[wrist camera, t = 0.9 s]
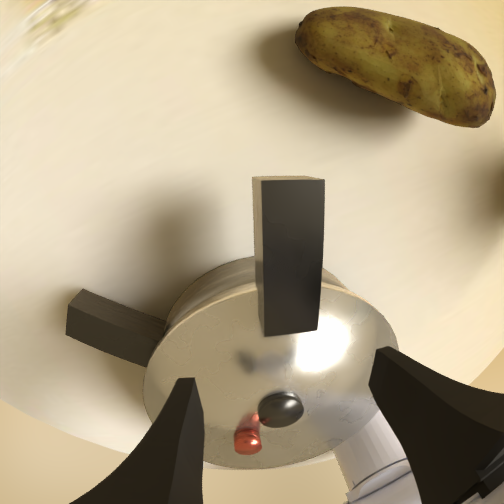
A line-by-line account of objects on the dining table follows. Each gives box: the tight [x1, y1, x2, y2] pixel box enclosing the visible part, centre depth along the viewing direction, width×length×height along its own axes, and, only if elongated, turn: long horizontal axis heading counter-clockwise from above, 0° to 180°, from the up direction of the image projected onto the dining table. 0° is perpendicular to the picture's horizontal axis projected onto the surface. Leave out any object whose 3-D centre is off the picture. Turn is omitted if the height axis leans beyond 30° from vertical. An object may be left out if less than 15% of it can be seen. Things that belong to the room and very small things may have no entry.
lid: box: [143, 176, 399, 469], centre depth 15 cm, size 22×17×3 cm
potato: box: [295, 7, 496, 128], centre depth 13 cm, size 8×13×8 cm, turn 60°
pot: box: [66, 256, 349, 367], centre depth 19 cm, size 22×16×5 cm
